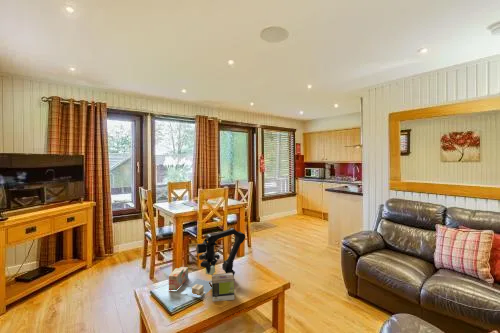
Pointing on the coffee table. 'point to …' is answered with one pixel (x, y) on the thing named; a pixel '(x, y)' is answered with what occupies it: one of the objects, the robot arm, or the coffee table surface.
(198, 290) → the maple block
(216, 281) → the tea box
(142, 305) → the coffee table surface
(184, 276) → the printed cardboard box
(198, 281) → the grey flat sheet
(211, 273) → the sage cube
